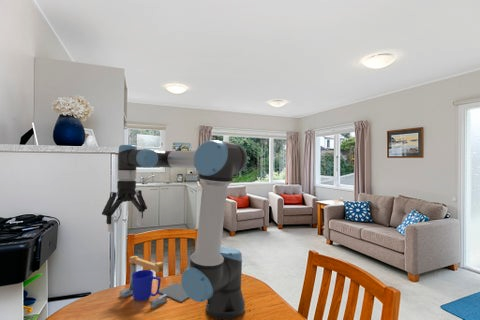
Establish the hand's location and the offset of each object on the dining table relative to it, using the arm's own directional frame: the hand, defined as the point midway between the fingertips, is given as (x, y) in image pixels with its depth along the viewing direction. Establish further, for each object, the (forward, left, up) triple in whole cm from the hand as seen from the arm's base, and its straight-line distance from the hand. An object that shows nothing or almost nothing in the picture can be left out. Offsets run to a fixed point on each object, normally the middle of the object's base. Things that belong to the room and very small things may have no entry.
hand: (125, 228), depth 114 cm
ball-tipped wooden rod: (-12, -1, -14) cm, 19 cm away
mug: (-14, -1, -27) cm, 30 cm away
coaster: (-21, -13, -27) cm, 36 cm away
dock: (-13, -1, -27) cm, 30 cm away
